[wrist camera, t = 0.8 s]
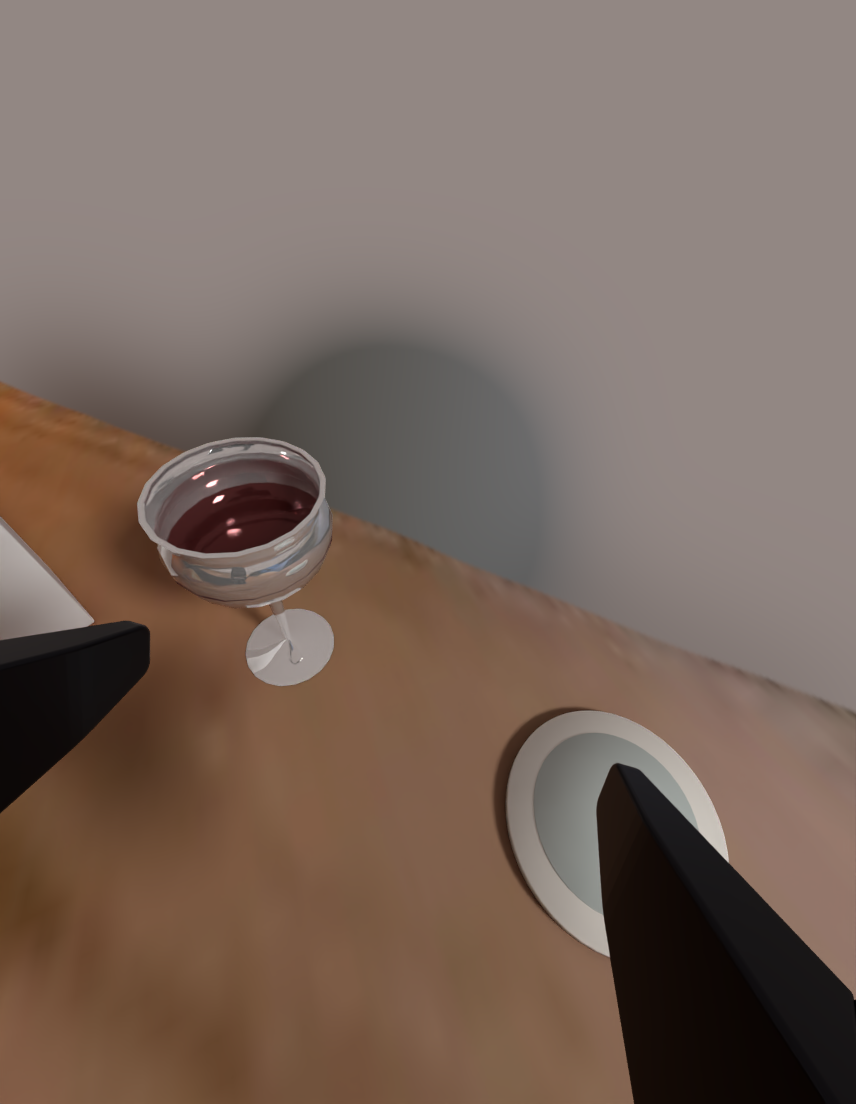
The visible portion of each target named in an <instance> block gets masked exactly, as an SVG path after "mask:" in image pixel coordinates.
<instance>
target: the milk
mask: <svg viewBox="0 0 856 1104" xmlns="http://www.w3.org/2000/svg"><path fill="white" fill-rule="evenodd" d="M92 623H94V619H93V618H92V617H91V616H90V614H89V613H88V612H87V611H86V610H85V609H84V608H83V606H82V605H81V604H80V603H79V602H78V601H77V599H76V598H75V597H74V596H73V595H72V594H71V592H70V591H69V590H68V589H67V588H66V587H65V585H64V584H63V583H62V582H61V581H60V580H59V578H58V577H57V576H56V575H55V574H54V573H53V571H52V570H51V569H50V568H49V567H48V566H47V565H46V564H45V563H44V562H43V560H42V559H41V558H40V557H39V556H38V555H37V554H36V553H35V552H34V551H33V550H32V549H31V548H30V547H29V546H28V545H27V544H26V543H25V542H24V541H23V540H22V538H21V537H20V536H19V535H18V534H17V533H16V532H15V531H14V530H13V529H12V528H11V527H10V526H9V525H8V524H7V523H6V522H5V521H4V520H3V519H2V518H1V516H0V640H4V639H11V638H17V637H24V636H30V635H37V634H43V633H50V632H56V631H62V630H69V629H75V628H82V627H88V626H89V625H91V624H92Z"/></svg>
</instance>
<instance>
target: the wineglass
mask: <svg viewBox="0 0 856 1104" xmlns="http://www.w3.org/2000/svg"><path fill="white" fill-rule="evenodd" d="M325 481H326V479H325V476H324V474H323V472H322V470H321V468H320V466H319V463H318V462H317V461H316V460H315V459H313V458H312V457H311V456H310V455H309V454H308V453H306V452H305V451H304V450H302V449H300V448H298V447H296V446H293V445H291V444H289V443H286V442H284V441H278V440H273V439H266V438H260V437H257V438H256V437H255V438H232V439H226V440H221V441H216V442H211V443H207V444H204V445H202V446H199V447H197V448H194V449H191V450H189V451H186V452H184V453H182V454H180V455H179V456H177V457H176V458H174V459H173V460H171V461H169V462H168V463H166V464H165V465H163V466H162V467H161V468H160V469H159V470H158V471H157V472H156V473H155V474H154V475H153V476H152V477H151V478H150V479H149V480H148V481H147V483H146V484H145V486H144V488H143V491H142V493H141V495H140V498H139V500H138V502H137V506H138V519H139V524H140V525H141V526H142V528H143V529H144V531H145V532H146V533H147V535H148V536H149V538H150V539H151V540H152V541H154V542H156V543H157V550H158V554H159V558H160V561H161V562H162V564H163V565H164V566H165V568H166V569H167V571H168V572H169V574H170V575H171V576H172V578H173V579H174V580H175V581H176V582H177V584H179V585H180V586H182V587H183V588H184V589H186V590H188V591H189V592H191V593H193V594H194V595H196V596H198V597H199V598H201V599H203V600H205V601H207V602H209V603H211V604H215V605H220V606H225V607H230V608H235V609H236V608H251V607H261V606H265V605H268V604H269V606H270V608H271V610H272V612H273V615H272V616H270V617H268V618H267V619H265V620H264V621H262V622H261V623H260V624H259V625H258V627H257V628H256V629H255V630H254V631H253V633H252V635H251V636H250V638H249V640H248V642H247V649H246V659H247V663H248V667H249V668H250V669H251V671H252V672H253V674H254V675H255V676H256V677H257V678H259V679H261V680H262V681H264V682H265V683H268V684H273V685H278V686H286V685H295V684H298V683H300V682H303V681H306V680H308V679H310V678H311V677H313V676H314V675H315V674H317V673H318V672H319V671H321V670H322V668H323V667H324V666H325V664H326V663H327V662H328V661H329V659H330V656H331V653H332V651H333V648H334V635H333V632H332V630H331V627H330V625H329V624H328V623H327V621H326V620H325V619H324V618H323V617H322V616H320V615H318V614H316V613H315V612H313V611H309V610H304V609H289V610H284V606H283V602H282V600H284V599H286V598H287V597H289V596H290V595H292V594H294V593H295V592H297V591H299V590H300V589H302V588H304V587H305V586H306V585H307V584H308V583H309V582H310V581H311V579H312V578H313V577H314V576H315V575H316V574H317V573H318V572H319V570H320V568H321V566H322V564H323V562H324V559H325V557H326V555H327V553H328V550H329V548H330V546H331V541H332V513H331V510H330V508H329V506H328V504H327V502H326V499H325Z"/></svg>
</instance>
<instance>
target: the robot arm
mask: <svg viewBox="0 0 856 1104" xmlns="http://www.w3.org/2000/svg"><path fill="white" fill-rule="evenodd" d="M149 664H150V631H149V629H148V628H147V627H146V626H145V625H142V624H138V623H135V622H131V621H120V622H114V623H108V624H101V625H95V626H88V627H82V628H75V629H69V630H62V631H56V632H50V633H43V634H37V635H30V636H24V637H17V638H11V639H4V640H0V813H1V812H2V811H3V810H5V809H6V808H7V807H8V806H9V805H10V804H11V803H12V802H14V801H15V800H16V799H17V798H18V797H19V796H20V795H21V794H23V793H24V792H25V791H26V790H27V789H28V788H29V787H30V786H31V785H33V784H34V783H35V782H36V781H37V780H38V779H39V778H40V777H42V776H43V775H44V774H45V773H46V772H47V771H48V770H49V769H50V768H52V767H53V766H54V765H55V764H56V763H57V762H58V761H59V760H61V759H62V758H63V757H64V756H65V755H66V754H67V753H68V752H69V751H71V750H72V749H73V748H74V747H75V746H76V745H77V744H78V743H79V742H80V741H81V740H82V739H84V738H85V736H86V735H87V734H88V733H89V732H90V731H91V730H92V729H93V728H94V727H95V726H96V725H97V724H98V723H99V722H100V721H101V720H102V719H103V718H104V717H105V716H106V715H107V714H108V713H109V712H110V711H111V709H112V708H113V707H114V706H115V705H116V704H117V703H118V702H119V701H120V700H121V699H122V698H123V697H124V696H125V695H126V694H127V693H128V692H129V690H130V689H131V688H132V687H133V686H134V685H135V684H136V683H137V682H138V681H139V680H140V679H141V678H142V677H143V676H144V674H145V673H146V671H147V669H148V667H149ZM596 818H597V834H598V850H599V866H600V881H601V896H602V908H603V916H604V923H605V930H606V936H607V942H608V948H609V954H610V960H611V966H612V972H613V978H614V984H615V990H616V996H617V1002H618V1008H619V1015H620V1021H621V1027H622V1033H623V1039H624V1045H625V1051H626V1057H627V1063H628V1069H629V1075H630V1081H631V1087H632V1094H633V1100H634V1104H856V1000H854V997H853V994H852V992H851V991H850V990H849V989H848V988H847V987H846V986H845V985H844V984H843V983H842V982H841V980H840V979H839V978H838V977H837V976H836V975H835V974H834V973H833V972H832V971H831V970H830V969H829V968H828V967H827V966H826V965H825V964H824V963H823V962H822V960H821V959H820V958H819V957H818V956H817V955H816V954H815V953H814V952H813V951H812V950H811V949H810V948H809V947H808V946H807V945H806V944H805V943H804V942H803V941H802V939H801V938H800V937H799V936H798V935H797V934H796V933H795V932H794V931H793V930H792V929H791V928H790V927H789V926H788V925H787V924H786V923H785V922H784V921H783V919H782V918H781V917H780V916H779V915H778V914H777V913H776V912H775V911H774V910H773V909H772V908H771V907H770V906H769V905H768V904H767V903H766V902H765V901H764V900H763V898H762V897H761V896H760V895H759V894H758V893H757V892H756V891H755V890H754V889H753V888H752V887H751V886H750V885H749V884H748V883H747V882H746V881H745V880H744V878H743V877H742V876H741V875H740V874H739V873H738V872H737V871H736V870H735V869H734V868H733V867H732V866H731V865H730V864H729V863H728V862H727V861H726V860H725V859H724V857H723V856H722V855H721V854H720V853H719V852H718V851H717V850H716V849H715V848H714V847H713V846H712V845H711V844H710V843H709V842H708V841H707V840H706V839H705V837H704V836H703V835H702V834H701V833H700V832H699V831H698V830H697V829H696V828H695V827H694V826H693V825H692V824H691V823H690V822H689V821H688V820H687V819H686V818H685V816H684V815H683V814H682V813H681V812H680V811H679V810H678V809H677V808H676V807H675V806H674V805H673V804H672V803H671V802H670V801H669V800H668V799H667V798H666V796H665V795H664V794H663V793H662V792H661V791H660V790H659V789H658V788H657V787H656V786H655V785H654V784H653V783H652V782H651V781H650V780H649V779H648V778H647V777H646V775H645V774H644V773H643V772H642V771H641V770H639V769H637V768H634V767H631V766H627V765H624V764H620V763H615V764H613V765H612V766H611V768H610V770H609V772H608V775H607V777H606V780H605V782H604V785H603V787H602V790H601V792H600V795H599V797H598V801H597V806H596Z"/></svg>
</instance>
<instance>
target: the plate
mask: <svg viewBox="0 0 856 1104" xmlns="http://www.w3.org/2000/svg"><path fill="white" fill-rule="evenodd" d="M615 763H620V764H624V765H627V766H631V767H634V768H637V769H639V770H641V771H642V772H643V773H644V774H645V775H646V777H647V778H648V779H649V780H650V781H651V782H652V783H653V784H654V785H655V786H656V787H657V788H658V789H659V790H660V791H661V792H662V793H663V794H664V795H665V796H666V798H667V799H668V800H669V801H670V802H671V803H672V804H673V805H674V806H675V807H676V808H677V809H678V810H679V811H680V812H681V813H682V814H683V815H684V816H685V818H686V819H687V820H688V821H689V822H690V823H691V824H692V825H693V826H694V827H695V828H696V829H697V830H698V831H699V832H700V833H701V834H702V835H703V836H704V837H705V839H706V840H707V841H708V842H709V843H710V844H711V845H712V846H713V847H714V848H715V849H716V850H717V851H718V852H719V853H720V854H721V855H722V856H723V857H724V859H725V860H726V861H727V862H728V863H729V861H728V851H727V847H726V842H725V837H724V833H723V830H722V827H721V824H720V820H719V818H718V815H717V813H716V811H715V808H714V806H713V804H712V802H711V800H710V798H709V796H708V794H707V792H706V790H705V789H704V787H703V786H702V784H701V782H700V781H699V779H698V778H697V776H696V775H695V774H694V772H693V771H692V770H691V769H690V767H689V766H688V765H687V763H686V762H685V761H684V760H683V759H682V758H681V757H680V756H679V755H678V754H677V753H676V752H675V750H673V749H672V748H671V747H670V746H669V745H668V744H667V743H666V742H664V741H663V740H662V739H661V738H659V737H658V736H657V735H655V734H654V733H652V732H651V731H649V730H648V729H646V728H644V727H643V726H641V725H639V724H637V723H635V722H633V721H631V720H629V719H627V718H624V717H621V716H618V715H615V714H611V713H606V712H601V711H590V710H588V711H575V712H569V713H565V714H562V715H559V716H557V717H554V718H553V719H551V720H549V721H547V722H545V723H544V724H543V725H541V726H540V727H539V728H537V729H536V730H535V731H534V732H533V733H532V734H531V735H530V736H529V738H528V739H527V740H526V742H525V743H524V745H523V746H522V747H521V749H520V750H519V752H518V754H517V756H516V758H515V760H514V762H513V765H512V768H511V771H510V774H509V778H508V783H507V788H506V801H505V806H506V822H507V828H508V835H509V839H510V842H511V846H512V850H513V853H514V856H515V858H516V861H517V864H518V866H519V869H520V871H521V873H522V875H523V877H524V879H525V881H526V883H527V885H528V886H529V888H530V890H531V891H532V893H533V894H534V896H535V897H536V899H537V901H538V902H539V903H540V904H541V906H542V907H543V908H544V909H545V911H546V912H547V913H548V914H549V916H550V917H551V918H552V919H553V920H554V921H555V922H556V923H557V924H558V925H559V926H560V927H561V928H562V929H563V930H564V931H565V932H567V933H568V934H569V935H570V936H572V937H573V938H574V939H576V940H577V941H578V942H580V943H581V944H583V945H585V946H586V947H588V948H590V949H591V950H593V951H595V952H597V953H599V954H601V955H604V956H606V957H608V958H610V954H609V948H608V942H607V936H606V930H605V923H604V916H603V908H602V896H601V881H600V866H599V850H598V834H597V818H596V806H597V801H598V797H599V795H600V792H601V790H602V787H603V785H604V782H605V780H606V777H607V775H608V772H609V770H610V768H611V766H612V765H613V764H615Z"/></svg>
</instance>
